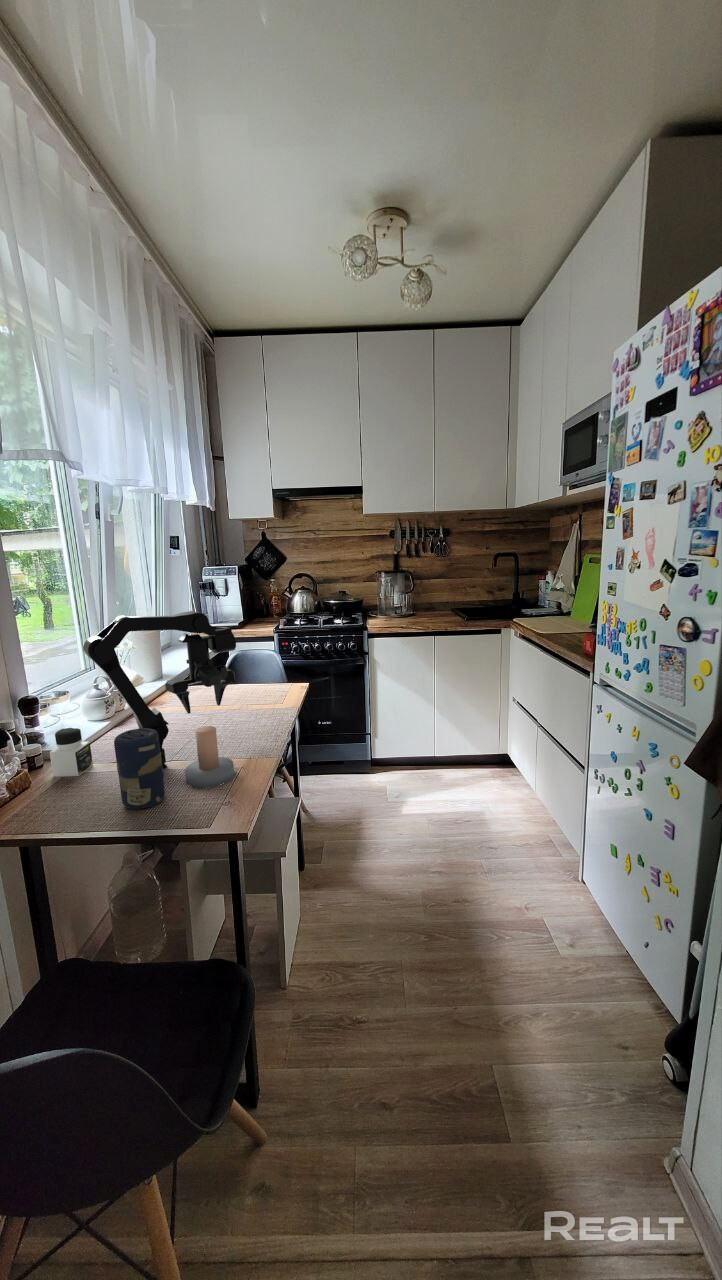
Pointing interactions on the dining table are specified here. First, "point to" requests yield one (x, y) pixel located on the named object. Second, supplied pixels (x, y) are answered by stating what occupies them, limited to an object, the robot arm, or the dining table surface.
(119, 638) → the robot arm
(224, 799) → the dining table surface
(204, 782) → the pedestal
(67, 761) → the medicine bottle
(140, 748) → the canister
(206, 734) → the tan piece
